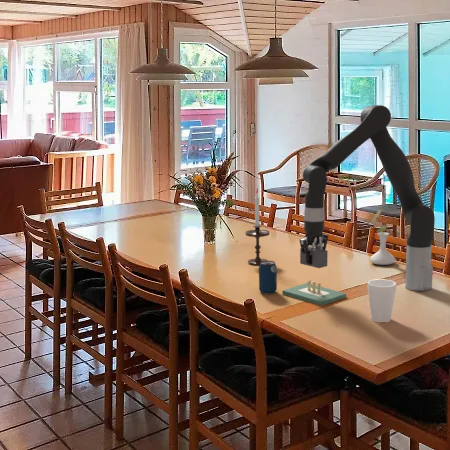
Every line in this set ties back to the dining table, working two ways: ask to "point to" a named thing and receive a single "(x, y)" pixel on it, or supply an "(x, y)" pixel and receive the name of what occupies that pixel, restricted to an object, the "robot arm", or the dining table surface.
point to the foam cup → (381, 299)
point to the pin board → (314, 293)
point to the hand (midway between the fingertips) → (313, 262)
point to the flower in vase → (382, 246)
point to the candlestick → (257, 234)
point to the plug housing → (315, 258)
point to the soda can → (267, 277)
